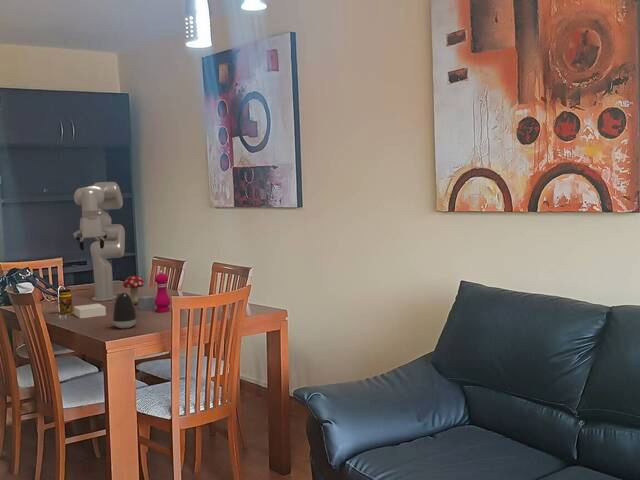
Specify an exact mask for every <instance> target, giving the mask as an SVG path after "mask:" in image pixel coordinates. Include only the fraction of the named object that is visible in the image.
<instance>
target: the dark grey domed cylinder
mask: <svg viewBox="0 0 640 480" xmlns="http://www.w3.org/2000/svg"><path fill="white" fill-rule="evenodd" d="M116 295H117V296H116V299H115V301H114V305H113V308H112V309H113V310H112V318H111V319H112V322H113V324H114V326H115V327H117V328H119V329H129V328H132V327H134V325H135V324H136V322H137V318H138V315H137V311H136V310H137V309H136V308H135V305H134V304H133V301H132V299H131V295H129V294H128V293H127V292H121V293H119V292H118V293H117V294H116Z"/></svg>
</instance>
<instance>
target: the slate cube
mask: <svg viewBox="0 0 640 480" xmlns="http://www.w3.org/2000/svg"><path fill="white" fill-rule="evenodd" d="M155 299H156V297H155V296H153V295H144V296H140V297H139V296H138V304H137V308H138V310H139V311H140V310H141V311H149V310H156V308H157V307H156V305H155Z"/></svg>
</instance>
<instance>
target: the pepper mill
mask: <svg viewBox="0 0 640 480" xmlns="http://www.w3.org/2000/svg"><path fill="white" fill-rule="evenodd" d="M167 281H168V276H167V274H165V273H164V271H163V270H159V271H158V273H157V274H155V277H154V282H155V283H156V284H155V285H156V288H157V292H156V297H155V308H156V309H155V312H156V313H168V312H170V307H169V306H170V304H171V299H170V297H169V295H168V293H167V285H168V283H167Z"/></svg>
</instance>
